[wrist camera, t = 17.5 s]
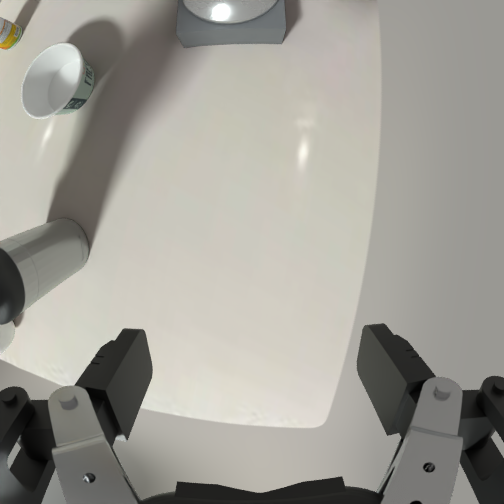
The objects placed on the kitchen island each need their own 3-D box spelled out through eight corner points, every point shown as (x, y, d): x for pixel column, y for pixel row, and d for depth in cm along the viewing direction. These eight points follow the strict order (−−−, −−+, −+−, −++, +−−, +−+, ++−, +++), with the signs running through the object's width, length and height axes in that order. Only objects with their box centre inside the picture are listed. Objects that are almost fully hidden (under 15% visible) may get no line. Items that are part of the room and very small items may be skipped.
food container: (35, 89, 36) (12, 83, 29) (85, 40, 34) (65, 27, 28) (59, 137, 38) (35, 135, 32) (114, 87, 37) (95, 77, 30)
